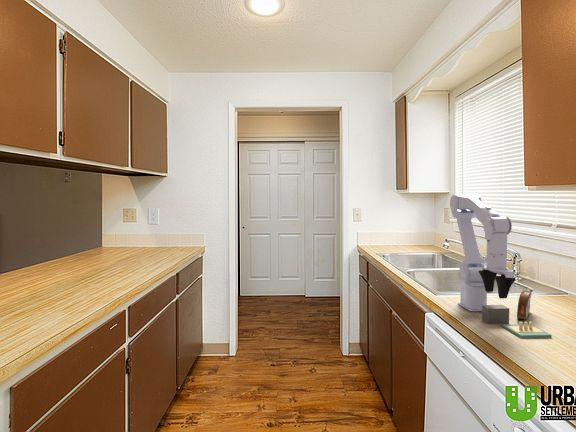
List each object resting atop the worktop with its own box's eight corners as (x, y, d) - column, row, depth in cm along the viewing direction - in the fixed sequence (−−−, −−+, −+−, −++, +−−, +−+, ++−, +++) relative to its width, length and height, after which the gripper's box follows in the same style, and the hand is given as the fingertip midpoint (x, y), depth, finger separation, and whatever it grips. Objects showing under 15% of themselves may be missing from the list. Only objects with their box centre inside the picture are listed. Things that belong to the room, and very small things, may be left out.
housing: (481, 319, 119) (482, 305, 118) (501, 319, 119) (502, 304, 118) (488, 323, 115) (488, 308, 114) (509, 323, 115) (509, 308, 114)
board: (502, 326, 112) (502, 317, 112) (530, 326, 112) (530, 317, 112) (520, 337, 103) (521, 327, 103) (551, 337, 103) (551, 327, 103)
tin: (521, 309, 129) (522, 287, 128) (531, 311, 127) (532, 288, 126) (515, 321, 117) (516, 296, 116) (527, 323, 115) (527, 298, 114)
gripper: (472, 250, 123) (472, 289, 123) (497, 257, 108) (496, 301, 109) (492, 250, 123) (492, 288, 123) (520, 257, 108) (519, 301, 109)
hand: (495, 294), depth 116 cm, fingers open, 7 cm apart
